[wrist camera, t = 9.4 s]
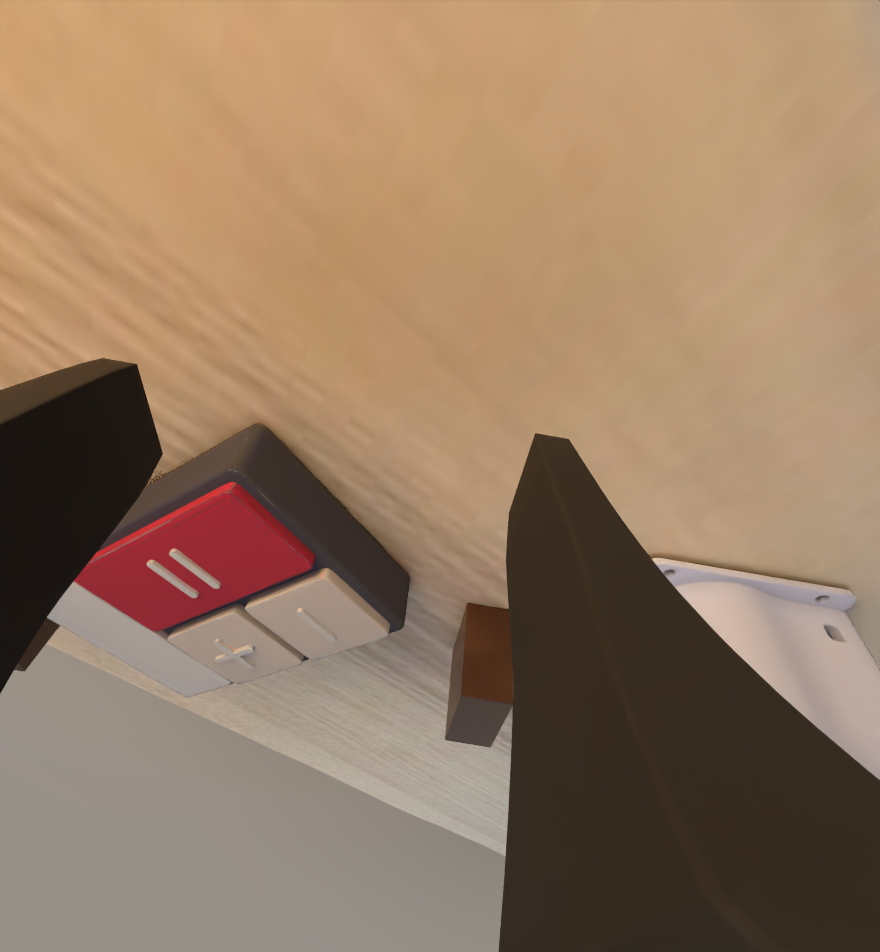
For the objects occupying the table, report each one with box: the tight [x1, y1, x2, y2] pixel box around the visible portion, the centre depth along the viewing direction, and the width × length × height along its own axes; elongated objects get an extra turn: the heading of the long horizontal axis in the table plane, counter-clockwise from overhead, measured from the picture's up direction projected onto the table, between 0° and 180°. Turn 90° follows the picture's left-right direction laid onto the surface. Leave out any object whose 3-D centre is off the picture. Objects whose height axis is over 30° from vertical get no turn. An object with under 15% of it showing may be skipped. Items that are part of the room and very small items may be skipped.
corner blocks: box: [14, 603, 513, 747], centre depth 26 cm, size 26×5×5 cm, turn 82°
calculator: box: [47, 424, 410, 697], centre depth 24 cm, size 11×4×15 cm
